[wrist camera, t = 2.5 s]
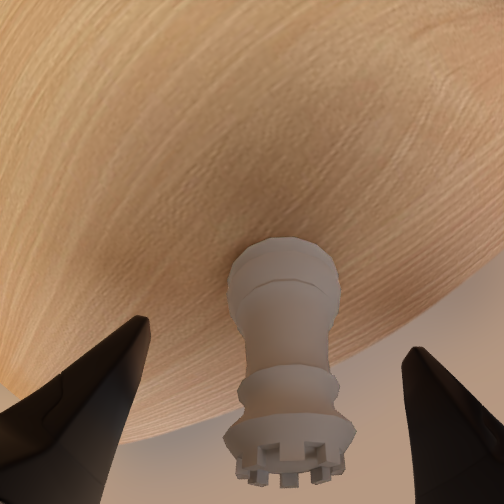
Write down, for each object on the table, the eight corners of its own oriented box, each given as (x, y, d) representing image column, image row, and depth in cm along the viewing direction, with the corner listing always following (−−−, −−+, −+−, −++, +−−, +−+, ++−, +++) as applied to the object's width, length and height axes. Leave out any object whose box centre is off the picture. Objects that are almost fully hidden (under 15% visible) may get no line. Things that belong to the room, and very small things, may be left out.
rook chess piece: (355, 287, 12) (406, 465, 5) (271, 333, 14) (268, 500, 7) (297, 207, 11) (337, 417, 4) (206, 269, 12) (152, 459, 5)
